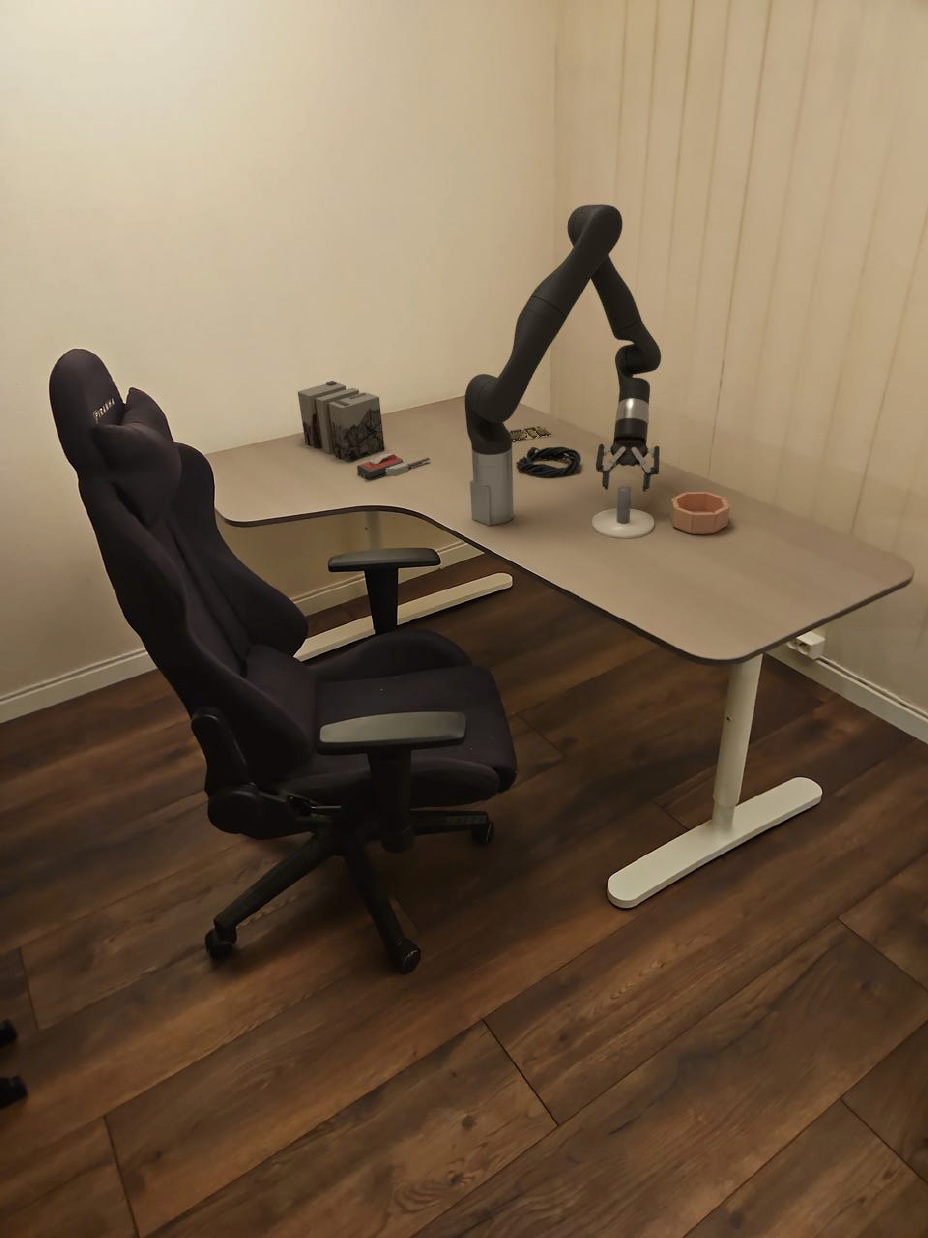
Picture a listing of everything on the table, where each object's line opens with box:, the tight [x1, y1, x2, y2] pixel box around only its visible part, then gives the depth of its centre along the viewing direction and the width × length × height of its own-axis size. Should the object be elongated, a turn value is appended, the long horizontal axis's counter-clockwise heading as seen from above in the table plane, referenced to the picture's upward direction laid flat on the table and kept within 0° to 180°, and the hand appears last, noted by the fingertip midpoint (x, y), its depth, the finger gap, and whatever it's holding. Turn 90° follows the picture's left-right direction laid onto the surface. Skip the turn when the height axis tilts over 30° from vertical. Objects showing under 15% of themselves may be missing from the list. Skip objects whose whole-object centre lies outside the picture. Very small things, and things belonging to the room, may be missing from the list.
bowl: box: [669, 491, 730, 535], centre depth 200 cm, size 12×12×5 cm
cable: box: [516, 446, 581, 478], centre depth 232 cm, size 17×14×4 cm
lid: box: [591, 485, 655, 540], centre depth 200 cm, size 14×14×9 cm
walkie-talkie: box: [356, 452, 431, 481], centre depth 237 cm, size 9×4×20 cm
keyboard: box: [509, 425, 552, 443], centre depth 254 cm, size 22×9×2 cm, turn 107°
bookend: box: [297, 380, 385, 464], centre depth 250 cm, size 16×25×16 cm, turn 41°
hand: (625, 489), depth 200 cm, fingers open, 8 cm apart
